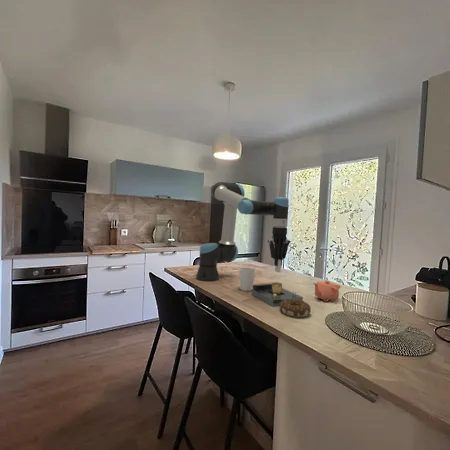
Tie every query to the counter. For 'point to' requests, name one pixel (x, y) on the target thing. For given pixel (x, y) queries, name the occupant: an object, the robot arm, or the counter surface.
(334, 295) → the pink piggy bank
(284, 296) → the jig
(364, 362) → the counter surface
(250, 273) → the cup
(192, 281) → the counter surface
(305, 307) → the donut
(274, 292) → the amber grooved cylinder
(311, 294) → the counter surface
